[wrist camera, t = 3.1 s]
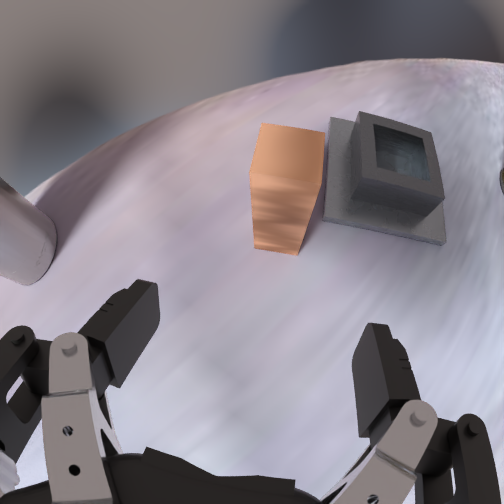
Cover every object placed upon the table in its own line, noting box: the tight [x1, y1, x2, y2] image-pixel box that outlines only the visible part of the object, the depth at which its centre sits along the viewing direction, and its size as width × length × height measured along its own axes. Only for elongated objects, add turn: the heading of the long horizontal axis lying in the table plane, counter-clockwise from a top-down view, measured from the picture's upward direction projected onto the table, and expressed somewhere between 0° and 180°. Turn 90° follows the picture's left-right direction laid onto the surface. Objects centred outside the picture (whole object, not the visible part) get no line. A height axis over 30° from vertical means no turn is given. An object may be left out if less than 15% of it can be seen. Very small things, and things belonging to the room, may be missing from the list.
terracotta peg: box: [249, 123, 325, 255], centre depth 22 cm, size 4×4×12 cm
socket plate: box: [323, 111, 446, 246], centre depth 27 cm, size 14×14×5 cm
